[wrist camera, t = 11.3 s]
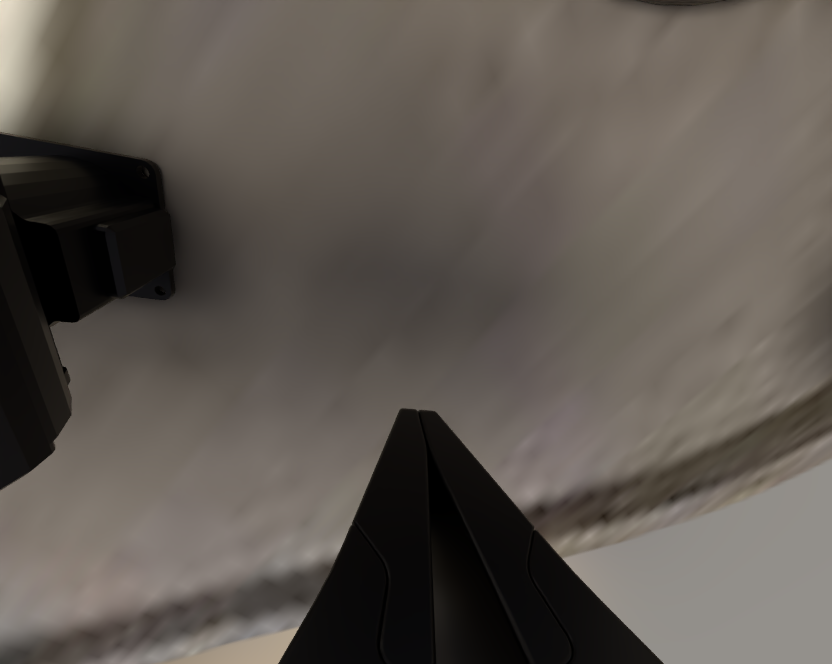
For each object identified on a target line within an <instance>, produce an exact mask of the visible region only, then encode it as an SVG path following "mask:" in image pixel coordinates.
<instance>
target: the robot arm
mask: <svg viewBox="0 0 832 664" xmlns="http://www.w3.org/2000/svg"><path fill="white" fill-rule="evenodd" d="M143 166H144V167H146V168H147V169H148V171H149V177H145V176H144V175H143V173H142V171H141V169H142V167H143ZM175 265H176V261H175V253H174V245H173V237H172V229H171V220H170V215H169V214H168V212H167V211H166V210H165V205H164V197H163V189H162V182H161V174H160V171H159V168H158V167H157V166H156V164H154V163H153V162H152V161H150V160H147V159H143V158H137V157H132V156H126V155H121V154H116V153H110V152H105V151H99V150H94V149H89V148H83V147H78V146H72V145H67V144H61V143H56V142H51V141H45V140H40V139H34V138H29V137H24V136H18V135H13V134H7V133H2V132H0V490H2V489H4V488H5V487H7V486H8V485H10V484H12V483H13V482H15V481H17V480H18V479H20V478H21V477H23V476H25V475H26V474H28V473H29V472H30V471H32V470H33V469H34V468H35V467H36V466H38V465H39V464H40V463H41V462H42V461H44V460H45V459H46V458H47V457H48V456H50V455H51V454H52V453H53V452H54V450H55V444H54V440H55V439H56V438H57V437H58V435H59V433H60V432H61V430H62V429H63V427H64V426H65V424H66V422H67V421H68V419H69V418H70V416H71V403H72V397H71V394H70V391H69V388H68V384H69V382H70V377H69V374H68V371H67V368H66V367H63V366H62V364H61V360H60V357H59V354H58V351H57V348H56V345H55V342H54V339H53V336H52V333H51V330H50V327H51V326H53V325H55V324H56V323H58V322H60V321H61V322H71V323H73V322H78V321H79V320H81V319H83V318H84V317H86V316H88V315H89V314H91V313H93V312H94V311H96V310H98V309H99V308H101V307H103V306H104V305H106V304H108V303H109V302H111V301H113V300H114V299H116V298H118V299H123V298H125V297H127V296H133V297H142V298H150V299H158V300H166V299H168V298H170V297H171V296H173V294H174V293H175V284H174V276H173V267H174V266H175ZM159 286H161V287H163V288H164V289H165V290H166V293H165V292H162V291H161V290H160V289H159ZM278 664H664V663H663V662H662V661H661V660H660V659H659V658H658V657H657V656H656V655H655V654H654V653H653V652H652V651H651V650H650V649H649V648H648V647H647V646H646V645H645V644H644V643H643V642H642V641H641V640H640V639H639V638H638V637H637V636H636V635H635V634H634V633H633V632H632V631H631V630H630V629H629V628H628V627H627V626H626V625H625V624H624V623H623V622H622V621H621V620H620V619H619V618H618V617H617V616H616V615H615V614H614V613H613V612H612V611H611V610H610V609H609V608H608V607H607V606H606V605H605V604H604V603H603V602H602V601H601V600H600V599H599V598H598V597H597V596H596V595H595V593H594V592H593V591H592V590H591V589H590V588H589V587H588V586H587V585H586V584H585V583H584V582H583V581H582V580H581V579H580V578H579V577H578V576H577V575H576V574H575V573H574V572H573V571H572V569H571V568H570V567H569V566H568V565H567V564H566V563H565V561H564V560H563V559H562V558H561V557H560V556H559V555H558V554H557V552H556V551H555V550H554V549H553V548H552V547H551V546H550V544H549V543H548V542H547V541H546V540H545V539H544V537H543V536H542V535H541V534H540V533H539V532H538V531H537V530H534V526H533V525H532V524H531V522H530V521H529V520H528V519H527V518H526V517H525V515H524V514H523V513H522V512H521V511H520V510H519V508H518V507H517V506H516V505H515V504H514V503H513V501H512V500H511V499H510V498H509V497H508V496H507V494H506V493H505V492H504V491H503V490H502V489H501V487H500V486H499V485H498V484H497V483H496V481H495V480H494V479H493V478H492V477H491V476H490V474H489V473H488V472H487V471H486V470H485V469H484V467H483V466H482V465H481V464H480V463H479V462H478V460H477V459H476V458H475V457H474V456H473V455H472V453H471V452H470V451H469V450H468V449H467V448H466V446H465V445H464V444H463V443H462V442H461V440H460V439H459V438H458V437H457V436H456V435H455V433H454V432H453V431H452V430H451V429H450V428H449V426H448V425H447V424H446V423H445V422H444V421H443V419H442V418H441V417H440V416H439V415H438V414H437V413H436V412H435V411H428V410H419V411H417V410H415V409H404V408H402V409H400V411H399V413H398V415H397V418H396V420H395V422H394V425H393V427H392V429H391V432H390V434H389V436H388V439H387V441H386V444H385V446H384V448H383V451H382V453H381V455H380V458H379V460H378V463H377V465H376V467H375V470H374V472H373V474H372V477H371V479H370V482H369V484H368V486H367V489H366V491H365V493H364V496H363V498H362V501H361V503H360V505H359V508H358V510H357V512H356V515H355V517H354V520H353V522H352V525H351V526H350V528H349V531H348V533H347V536H346V538H345V540H344V543H343V545H342V547H341V549H340V552H339V554H338V556H337V558H336V560H335V562H334V564H333V567H332V569H331V571H330V573H329V575H328V577H327V579H326V580H325V582H324V584H323V586H322V588H321V590H320V592H319V593H318V595H317V597H316V599H315V601H314V603H313V605H312V606H311V608H310V610H309V612H308V613H307V615H306V617H305V619H304V620H303V622H302V624H301V625H300V627H299V629H298V631H297V633H296V634H295V636H294V638H293V639H292V641H291V643H290V644H289V646H288V648H287V650H286V651H285V653H284V655H283V656H282V658H281V660H280V662H279V663H278Z"/></svg>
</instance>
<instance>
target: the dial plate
mask: <svg viewBox="0 0 832 664" xmlns="http://www.w3.org/2000/svg"><path fill="white" fill-rule="evenodd" d="M639 1H644V2H648V3H653V4H659V5H698V4H705V3H711V2H718V1H724V0H639Z"/></svg>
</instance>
